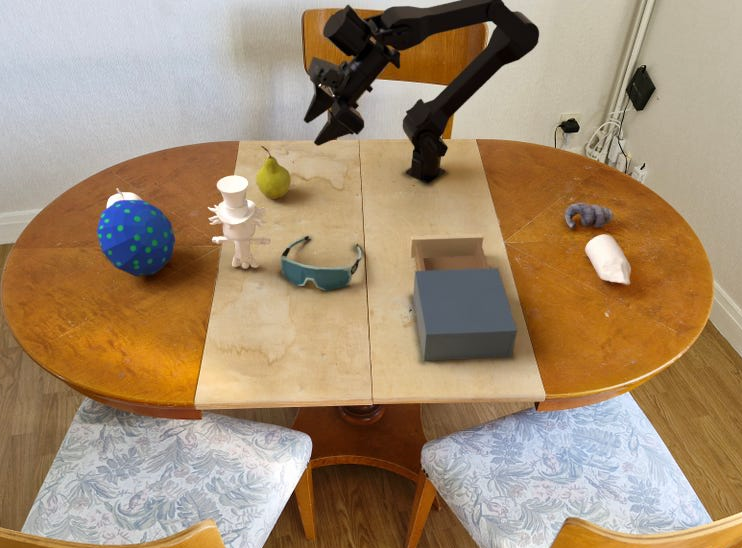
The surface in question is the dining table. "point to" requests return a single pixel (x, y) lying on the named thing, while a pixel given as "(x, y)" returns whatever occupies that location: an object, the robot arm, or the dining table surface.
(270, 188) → the fruit
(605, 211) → the seashell
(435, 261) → the drawer
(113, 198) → the plain white apple
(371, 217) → the dining table surface
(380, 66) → the robot arm
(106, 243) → the polka dot ball
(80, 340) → the dining table surface
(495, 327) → the cabinet
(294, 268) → the sunglasses
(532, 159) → the dining table surface
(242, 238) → the figurine
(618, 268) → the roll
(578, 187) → the dining table surface
